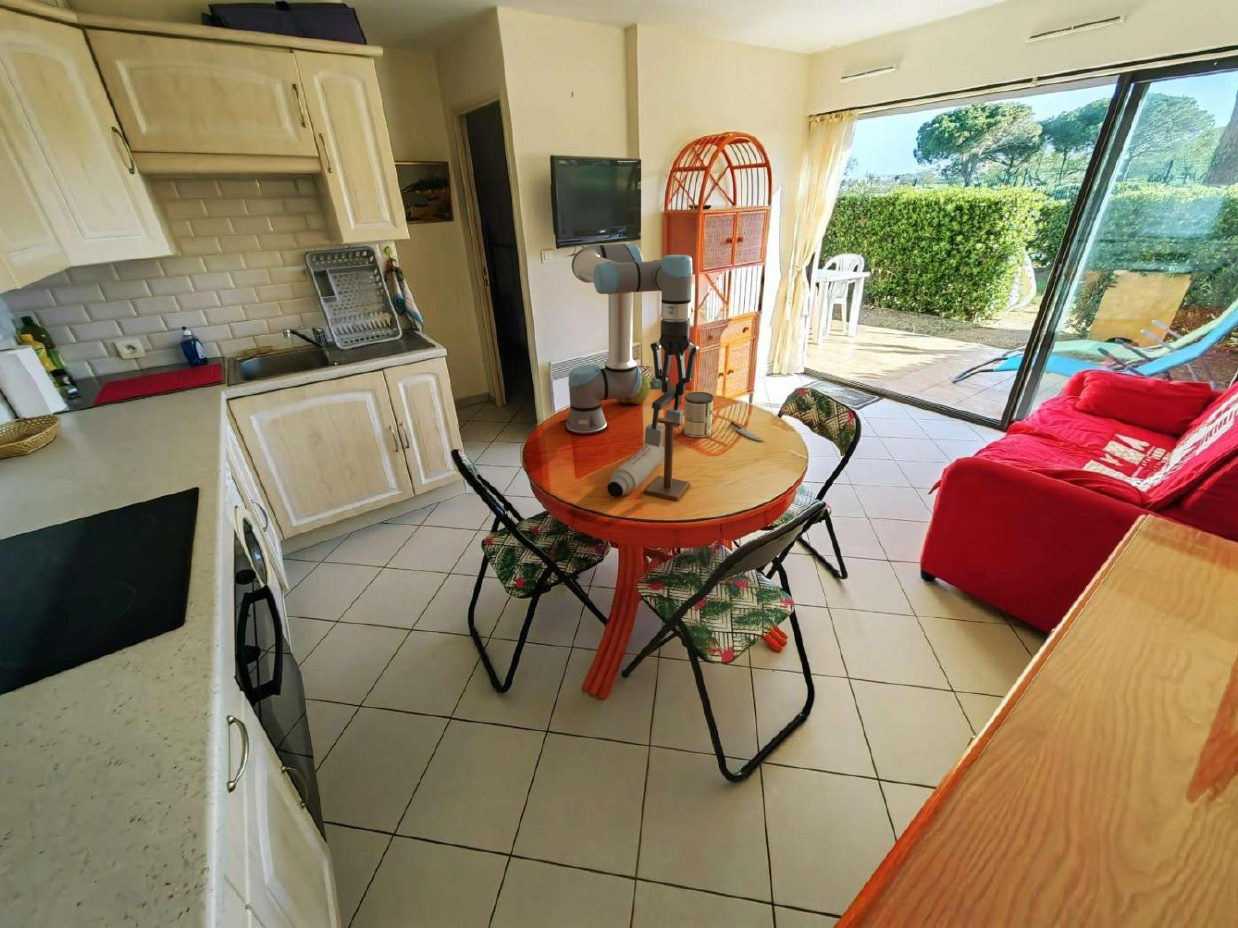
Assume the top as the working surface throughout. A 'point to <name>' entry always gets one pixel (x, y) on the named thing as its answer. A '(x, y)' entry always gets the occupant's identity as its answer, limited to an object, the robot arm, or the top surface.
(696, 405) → the coffee can
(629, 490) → the thermos bottle
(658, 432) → the headphones
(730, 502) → the top surface
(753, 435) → the chef's knife
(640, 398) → the fruit
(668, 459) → the stand
